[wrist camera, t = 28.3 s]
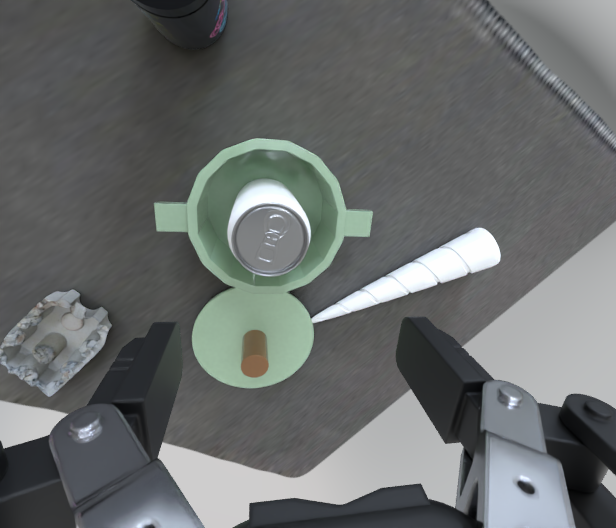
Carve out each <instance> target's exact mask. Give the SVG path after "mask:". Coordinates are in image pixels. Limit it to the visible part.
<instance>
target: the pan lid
mask: <svg viewBox="0 0 616 528" xmlns="http://www.w3.org/2000/svg"><path fill="white" fill-rule="evenodd" d="M313 340H314V329H313V324H312V320H311V317H310V315H309V313H308V311H307V309H306V308H305V306H304V305H303V304H302V303H301V302H300V301H299V300H298V299H297V298H296V297H295V296H294V295H292V294H290V293H289V292H285V293H283V294H252V293H249V292H246V291H243V290H241V289H238V288H235V287H232V288H230V289H227V290H225V291H223V292H221V293H219V294H218V295H216V296H215V297H214V298H212V299H211V300H210V301H209V302H208V303H207V304H206V305H205V306H204V307H203V308H202V310H201V311H200V313H199V315H198V316H197V318H196V321H195V324H194V327H193V332H192V346H193V350H194V354H195V356H196V358H197V360H198V362H199V363H200V365H201V366H202V367H203V369H204V370H205V371H206V372H207V373H209V374H210V375H211V376H212V377H214V378H215V379H217V380H219V381H221V382H223V383H225V384H228V385H231V386H235V387H241V388H260V387H265V386H270V385H273V384H276V383H278V382H280V381H283V380H284V379H286V378H288V377H289V376H291V375H292V374H294V373H295V372H296V371H297V370H298V369H299V368H300V367H301V366H302V365H303V363H304V362H305V361H306V359H307V358H308V356H309V353H310V351H311V348H312V345H313Z"/></svg>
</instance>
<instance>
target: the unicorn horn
mask: <svg viewBox="0 0 616 528" xmlns="http://www.w3.org/2000/svg"><path fill="white" fill-rule="evenodd" d="M499 261H500V251H499V247H498V245H497V243H496V241H495V239H494V238H493V236H492V235H491V234H490V233H489V232H488V231H487V230H485V229H483V228H475V229H473V230H470V231H469V232H467V233H466V234H463V235H461V236H459V237H457V238H456V239H454V240H452V241H450V242H448V243H446V244H444V245H442V246H440V247H439V248H438V249H435V250H433V251H431V252H429V253H427V254H425V255H423V256H421V257H419V258H418V259H416V260H414V261H413V262H412V263H408V264H406V265H404V266H402V267H401V268H399V269H397V270H395V271H393V272H391V273H389V274H387V275H386V276H385V277H382V278H380V279H378V280H376V281H375V282H373V283H371V284H369V285H367V286H365V287H363V288H362V289H361V290H360V291H356V292H354V293H353V294H351V295H349V296H347V297H346V298H344V299H342V300H340V301H339V302H337V303H336V304H335V305H332V306H330V307H328V308H327V309H325V310H323V311H322V312H320V313H318V314H317V315H315V316H314V317H312V319H311V320H312V323H316V322H320V321H323V320H327V319H331V318H334V317H338V316H341V315H345V314H348V313H350V312H351V311H358V310H361V309H364V308H367V307H370V306H373V305H376V304H379V303H380V302H386V301H389V300H392V299H395V298H399V297H402V296H405V295H408V293H409V292H411V293H414V292H417V291H420V290H423V289H426V288H429V287H432V286H435V285H437V282H441V283H444V282H447V281H450V280H453V279H456V278H459V277H462V276H465V275H467V273H468V272H471V273H474V272H477V271H481V270H484V269H487V268H490V267H493V266H495V265H497V264H498V263H499Z"/></svg>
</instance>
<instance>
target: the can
mask: <svg viewBox="0 0 616 528" xmlns="http://www.w3.org/2000/svg"><path fill="white" fill-rule="evenodd" d="M227 236H228V242H229V246H230V249H231V251H232V253H233V255H234V256H235V257H236V259H237V260H238V261H239V262H240V264H241V265H242V266H243V267H244V268H246V269H247V270H248V271H250V272H252V273H254V274H257V275H260V276H266V277H274V276H280V275H283V274H286V273H288V272H290V271H291V270H293V269H294V268H296V267H297V266H298V265H299V264H300V263H301V261H302V260H303V258H304V257H305V255H306V252H307V249H308V247H309V243H310V238H311V230H310V224H309V221H308V218H307V216H306V214H305V212H304V210H303V209H302V207H301V206H300V204H299V203H298V201H297V200H296V198H295V197H294V196H293V194H292V193H291V192H290V190H289V189H288V188H287V187H286V186H285V185H284V184H282V183H281V182H279V181H276V180H273V179H267V178H261V179H256V180H253V181H251V182H249V183H247V184H246V185H245V186H244V187H243V188H242V189H241V190H240V191H239V193H238V195H237V197H236V200H235V202H234V206H233V209H232V212H231V216H230V219H229V223H228V230H227Z"/></svg>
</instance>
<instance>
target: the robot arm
mask: <svg viewBox="0 0 616 528" xmlns="http://www.w3.org/2000/svg"><path fill="white" fill-rule="evenodd" d="M396 362H397V366H398V368H399V370H400V372H401V373H402V375H403V377H404V378H405V380H406V381H407V383H408V385H409V386H410V388H411V389H412V391H413V393H414V394H415V396H416V397H417V399H418V400H419V402H420V404H421V405H422V407H423V409H424V410H425V412H426V413H427V415H428V417H429V418H430V420H431V421H432V423H433V425H434V426H435V428H436V430H437V431H438V433H439V434H440V436H441V437H442V439H443V441H444V442H445V444H447V443H459V442H461V444H462V445H463V446H464V448H463V451H462V454H461V461H460V470H459V479H458V489H457V498H456V506H455V508H454V507H451V506H449V505H446V504H444V503H441V502H438V501H434V500H430V499H428V498H427V495H426V494H425V491H424V489H423V487H422V485H421V484H413V485H405V486H395V487H387V488H380V489H378V490H376V491H374V492H372V493H369V494H367V495H365V496H362V497H360V498H358V499H355V500H353V501H351V502H349V503H347V504H343V505H336V504H330V503H323V502H317V501H310V500H304V499H297V498H291V499H282V500H274V501H264V502H256V503H250V505H249V506H250V507H249V510H250V511H249V520H247V521H245V522H243V523H240V524H238V525H237V526H235V527H233V528H616V498H615V497H614V496H613V495H612V494H611V493H610V491H608V489H607V488H606V487H605V486H604V485H603V484H602V483H601V482H602V480H603V478H604V476H605V475H606V473H607V471H608V469H610V470H611V471H612V472H613V473H614V474H615V475H616V409H615V408H613V407H612V406H610V405H609V404H607V403H605V402H603V401H601V400H598V399H596V398H593V397H590V396H587V395H583V394H571V395H568V396H567V397H566V399H565V401H564V404H563V406H562V407H557V406H552V405H546V404H541V403H537V401H536V400H535V399H534V397H533V396H531V395H530V394H529V393H528V392H527V391H525V390H524V389H522V388H520V387H519V386H517V385H514V384H512V383H509V382H506V381H501V380H494V379H493V378H492V377H491V376H490V375H489V374H488V373H487V372H486V371H485V370H484V369H483V368H482V367H481V366H480V365H479V364H478V363H477V362H476V361H475V359H474V358H472V356H469V354H468V352H467V351H466V350H465V349H464V348H461V345H460V344H459V343H458V342H457V341H456V340H455V339H454V338H453V337H451V336H450V335H448V334H446V333H445V332H443V331H441V330H440V329H437V328H436V327H435V326H434V325H433V324H432V323H431V322H430V321H429V320H428V319H427V318H426V317H405V318H404V319H403V320H402V324H401V329H400V334H399V339H398V344H397V349H396ZM182 367H183V360H182V348H181V337H180V326H179V323H178V322H154V323H153V324H152V326H151V328H150V330H149V332H148V333H147V335H146V337H145V338H135V339H133V340H132V341H131V342H129V343H128V344H127V345H126V346H124V347H123V348H122V349H121V351H120V353H119V354H118V356H117V358H116V359H115V361H114V362H113V364H112V366H111V367H110V370H109V371H108V372H107V374H106V375H105V377H104V379H103V380H102V382H101V383H100V385H99V387H98V388H97V390H96V391H95V393H94V395H93V396H92V398H91V400H90V401H89V403H88V404H87V406H85V407H82V408H80V409H78V410H76V411H74V412H72V413H70V414H68V415H67V416H66V417H64V418H63V419H62V420H61V421H59V422H58V423H57V424H56V426H55V427H54V428H53V430H52V431H51V433H50V435H48V436H45V437H42V438H39V439H36V440H32V441H29V442H25V443H22V444H18V445H15V446H12V447H8V448H5V449H3V446H2V443H1V441H0V528H205V527H204V526H203V524H202V522H201V521H200V519H199V518H198V516H197V515H196V513H195V512H194V510H193V509H192V507H191V506H190V504H189V502H188V501H187V500H186V498H185V496H184V495H183V493H182V492H181V490H180V489H179V487H178V486H177V484H176V482H175V481H174V480H173V478H172V477H171V475H170V473H169V472H168V470H167V469H166V467H165V466H164V464H163V463H162V461H161V460H159V459H158V454H159V451H160V448H161V444H162V441H163V438H164V434H165V431H166V428H167V424H168V421H169V417H170V414H171V411H172V407H173V404H174V401H175V397H176V394H177V391H178V387H179V384H180V381H181V376H182Z"/></svg>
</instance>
